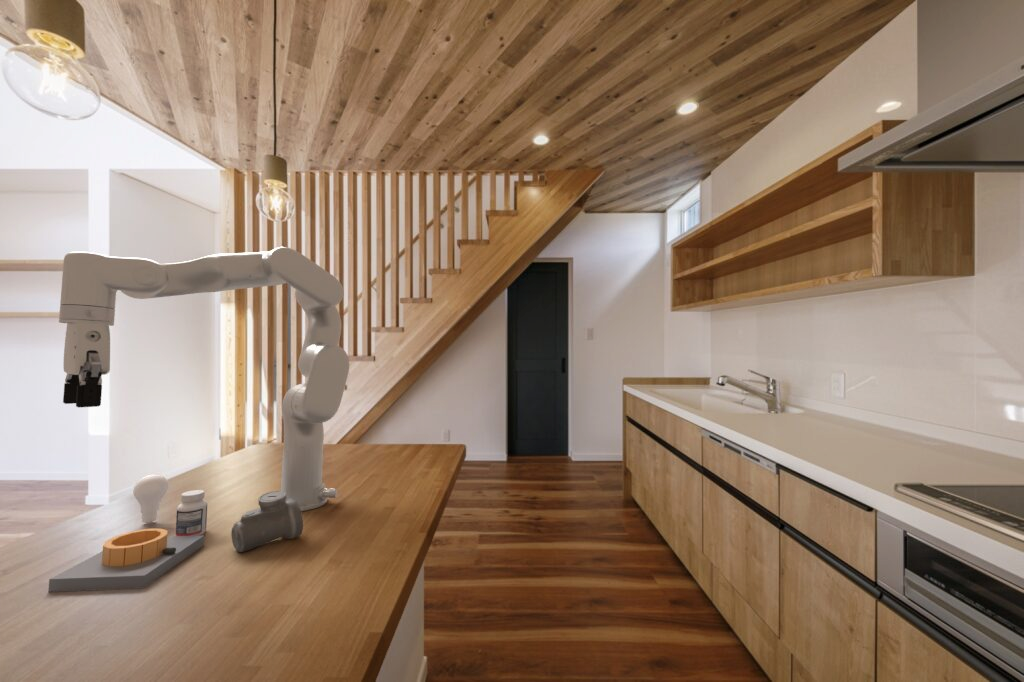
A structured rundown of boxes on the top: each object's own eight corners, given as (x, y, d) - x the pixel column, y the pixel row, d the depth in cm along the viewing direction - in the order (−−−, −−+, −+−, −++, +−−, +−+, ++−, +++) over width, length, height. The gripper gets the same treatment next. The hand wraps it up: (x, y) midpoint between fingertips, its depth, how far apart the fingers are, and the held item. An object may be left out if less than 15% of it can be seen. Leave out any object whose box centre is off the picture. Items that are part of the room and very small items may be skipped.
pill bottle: (186, 529, 92) (188, 488, 92) (211, 529, 92) (213, 488, 93) (168, 539, 87) (171, 496, 87) (195, 539, 87) (197, 496, 88)
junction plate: (203, 545, 84) (205, 520, 84) (143, 587, 68) (145, 556, 69) (127, 547, 83) (129, 522, 83) (48, 591, 67) (50, 560, 67)
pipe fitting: (292, 526, 93) (290, 482, 92) (306, 540, 88) (304, 494, 87) (229, 549, 85) (226, 501, 84) (240, 566, 79) (237, 515, 78)
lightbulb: (145, 529, 91) (148, 479, 92) (123, 527, 92) (127, 477, 93) (173, 519, 97) (176, 472, 98) (152, 517, 98) (155, 470, 99)
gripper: (127, 316, 79) (121, 406, 78) (101, 320, 89) (95, 400, 88) (71, 312, 73) (63, 410, 72) (49, 316, 82) (42, 403, 82)
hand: (81, 404), depth 80 cm, fingers open, 9 cm apart
